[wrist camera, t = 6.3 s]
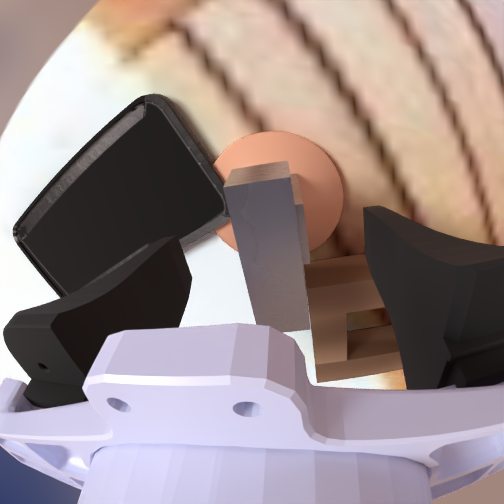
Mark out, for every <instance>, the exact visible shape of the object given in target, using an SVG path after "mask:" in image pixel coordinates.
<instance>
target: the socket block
mask: <svg viewBox="0 0 504 504" xmlns="http://www.w3.org/2000/svg"><path fill="white" fill-rule="evenodd" d="M304 271H305V280H306V289H307V297H308V305H309V313H310V322H311V330H312V339H313V348H314V358H315V368H316V378H317V383H320V382H328V381H336V380H343V379H350V378H356V377H362V376H368V375H374V374H380V373H385V372H390V371H395V370H400V369H403V366H402V361H401V357H400V352H399V348H398V344H397V340H396V336H395V333H394V329H393V326H392V325H386V326H381V327H375V328H369V329H362V330H356V331H350V332H347V313H352V312H358V311H365V310H371V309H377V308H383V307H385V305H384V303H383V301H382V299H381V296H380V294H379V292H378V290H377V287H376V285H375V283H374V281H373V278H372V276H371V273H370V270H369V266H368V263H367V260H366V256H365V254H358V255H351V256H344V257H337V258H330V259H323V260H316V261H310V264H304Z"/></svg>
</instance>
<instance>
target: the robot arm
mask: <svg viewBox="0 0 504 504" xmlns="http://www.w3.org/2000/svg"><path fill="white" fill-rule="evenodd" d="M363 211H364V232H365V256H366V260H367V263H368V266H369V270H370V273H371V276H372V278H373V281H374V283H375V285H376V287H377V290H378V292H379V294H380V296H381V299H382V301H383V303H384V305H385V308H386V310H387V312H388V315H389V317H390V320H391V323H392V326H393V329H394V333H395V336H396V340H397V344H398V348H399V352H400V357H401V361H402V366H403V371H404V376H405V382H406V387H407V390H381V389H353V388H336V387H322V386H313V385H312V384H311V383H310V382H309V379H308V377H307V372H306V364H305V357H304V355H303V353H302V352H301V350H300V348H299V346H298V345H297V343H296V341H295V340H294V339H293V338H291V337H289V336H288V335H286V334H284V333H282V332H280V331H278V330H276V329H274V328H272V327H270V326H263V325H252V324H242V323H234V324H222V325H210V326H196V327H181V328H179V325H180V322H181V319H182V316H183V314H184V311H185V308H186V305H187V302H188V299H189V294H190V289H191V282H192V276H191V273H190V270H189V267H188V265H187V262H186V259H185V256H184V253H183V250H182V247H181V244H180V241H179V238H178V235H176V236H170V237H164V238H162V239H159V240H158V241H156V242H154V243H153V244H151V245H150V246H148V247H147V248H145V249H144V250H142V251H141V252H139V253H138V254H137V255H135V256H134V257H132V258H131V259H130V260H128V261H127V262H125V263H124V264H122V265H121V266H119V267H118V268H116V269H115V270H113V271H112V272H110V273H109V274H107V275H106V276H104V277H102V278H101V279H99V280H97V281H95V282H93V283H92V284H90V285H88V286H86V287H84V288H82V289H80V290H78V291H76V292H73V293H71V294H69V295H67V296H65V297H62V298H60V299H57V300H55V301H52V302H49V303H46V304H43V305H40V306H37V307H33V308H30V309H26V310H23V311H19V312H17V313H16V314H15V315H14V316H13V317H12V319H11V320H10V321H9V323H8V324H7V325H6V326H5V328H4V331H3V336H4V340H5V343H6V345H7V348H8V349H9V351H10V352H11V354H12V355H13V357H14V358H15V359H16V361H17V362H18V363H19V364H20V366H21V367H22V368H23V369H24V371H25V372H26V373H27V374H28V376H29V377H30V378H31V381H30V383H29V384H28V385H27V384H25V383H24V382H22V381H19V380H14V379H10V378H5V379H4V381H3V382H2V384H1V385H0V446H1V447H3V448H4V449H5V450H6V451H7V452H9V453H10V454H11V455H12V456H14V457H15V458H16V459H17V460H19V461H20V462H22V463H24V464H26V465H28V466H30V467H32V468H34V469H36V470H38V471H40V472H42V473H45V474H47V475H49V476H51V477H53V478H56V479H58V480H60V481H62V482H65V483H67V484H69V485H71V486H74V487H76V488H78V489H81V490H82V492H81V495H80V498H79V501H78V504H433V501H432V500H435V499H438V498H440V497H443V496H446V495H448V494H450V493H453V492H455V491H458V490H460V489H462V488H465V487H467V486H470V485H471V484H474V483H476V482H478V481H480V480H482V479H485V478H486V477H488V476H490V475H493V474H495V473H497V472H498V471H500V470H502V469H504V246H496V245H489V244H483V243H477V242H473V241H468V240H464V239H460V238H456V237H453V236H450V235H447V234H444V233H441V232H438V231H435V230H432V229H430V228H428V227H425V226H423V225H421V224H418V223H416V222H414V221H412V220H410V219H408V218H406V217H403V216H401V215H399V214H397V213H395V212H393V211H391V210H389V209H387V208H385V207H382V206H371V207H364V208H363Z"/></svg>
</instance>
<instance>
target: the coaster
mask: <svg viewBox="0 0 504 504" xmlns="http://www.w3.org/2000/svg"><path fill="white" fill-rule="evenodd" d="M287 160H288V163H289V169H290V174H294V173H297V176H298V181H299V186H300V191H301V196H302V201H303V207H304V214H305V222H306V230H307V238H308V246H309V253H310V252H312V251H313V250H315V249H316V248H318V247H319V246H320V245H322V244H323V243H324V242H325V241H326V240H327V239H328V238H329V236H330V235H331V234H332V232H333V231H334V229H335V227H336V226H337V224H338V221H339V219H340V216H341V212H342V209H343V187H342V182H341V179H340V176H339V174H338V171H337V169H336V167H335V166H334V164H333V163H332V161H331V160H330V158H329V157H328V156H327V155H326V154H325V152H324V151H323V150H322V149H320V148H319V147H318V146H317V145H316V144H314V143H313V142H311V141H309V140H308V139H306V138H303V137H301V136H299V135H296V134H293V133H289V132H283V131H265V132H258V133H254V134H251V135H248V136H246V137H243V138H241V139H239V140H238V141H236V142H234V143H233V144H232V145H230V146H229V147H228V148H227V149H226V150H225V151H224V152H223V153H222V154H221V155H220V156H219V157H218V159H217V160H216V161H215V163H214V164H213V168H214V169H215V171H216V172H217V174H218V175H219V177H220V178H221V179H222V181H223V182H224V184H225V182H226V180H227V178H228V176H229V174H230V172H231V170H232V169H236V168H242V167H248V166H254V165H260V164H267V163H273V162H280V161H287ZM214 230H215V231H216V233H217V234H218V235H219V236H220V238H221V239H222V240H223V241H224V242H225V243H226V244H228V245H229V246H230V247H231V248H233V249H234V250H236V251H237V252H238V248H237V244H236V240H235V235H234V231H233V227H232V223H231V219H229V220H228V221H227V222H226V223H224V224H223V225H221V226H219V227H218V228H216V229H214Z"/></svg>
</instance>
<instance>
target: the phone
mask: <svg viewBox="0 0 504 504" xmlns="http://www.w3.org/2000/svg"><path fill="white" fill-rule="evenodd" d="M213 164H214V163H213V162H212V160H211V159H210V157H209V156H208V154H207V153H206V151H205V150H204V148H203V147H202V145H201V144H200V143H199V141H198V140H197V138H196V137H195V135H194V134H193V132H192V131H191V130H190V128H189V127H188V125H187V124H186V122H185V121H184V119H183V118H182V117H181V115H180V114H179V112H178V111H177V109H176V108H175V106H174V105H173V104H172V102H171V101H170V100H169V99H168V98H167V97H165V96H163V95H161V94H149V95H144V96H141V97H139V98H137V99H136V100H134V101H133V102H132V103H131V104H130V105H128V106H127V107H126V108H125V109H124V110H123V111H121V112H120V113H119V114H118V115H117V116H116V117H114V118H113V119H112V120H111V121H110V122H109V123H108V124H107V125H106V126H104V127H103V128H102V129H101V130H100V131H99V132H98V133H97V134H96V135H95V136H94V137H93V138H92V139H91V140H90V141H89V142H87V143H86V144H85V145H84V146H83V147H82V148H81V149H80V150H79V151H78V152H77V153H76V154H75V155H74V156H73V157H72V158H71V160H70V161H69V162H68V163H67V164H66V165H65V166H64V167H63V168H62V169H61V170H60V171H59V172H58V173H57V174H56V176H55V177H54V178H53V179H52V180H51V181H50V182H49V183H48V184H47V186H46V187H45V188H44V189H43V190H42V191H41V193H40V194H39V195H38V196H37V197H36V198H35V200H34V201H33V202H32V203H31V204H30V206H29V207H28V208H27V209H26V211H25V212H24V213H23V214H22V216H21V217H20V218H19V220H18V221H17V222H16V223H15V225H14V227H13V236H14V239H15V241H16V243H17V245H18V246H19V247H20V249H21V250H22V251H23V253H24V254H25V255H26V257H27V258H28V259H29V261H30V262H31V263H32V264H33V266H34V267H35V268H36V269H37V271H38V272H39V273H40V274H41V276H42V277H43V278H44V279H45V280H46V282H47V283H48V284H49V285H50V286H51V287H52V289H53V290H54V291H55V292H56V293H57V294H58V296H59V297H60V298H62V297H65V296H67V295H69V294H71V293H73V292H76V291H78V290H80V289H82V288H84V287H86V286H88V285H90V284H92V283H93V282H95V281H97V280H99V279H101V278H102V277H104V276H106V275H107V274H109V273H110V272H112V271H113V270H115V269H116V268H118V267H119V266H121V265H122V264H124V263H125V262H127V261H128V260H130V259H131V258H132V257H134V256H135V255H137V254H138V253H139V252H141V251H142V250H144V249H145V248H147V247H148V246H150V245H151V244H153V243H154V242H156V241H158V240H159V239H162V238H164V237H170V236H176V235H178V238H179V241H180V244H181V247H184V246H186V245H188V244H189V243H191V242H193V241H195V240H196V239H198V238H200V237H202V236H203V235H205V234H207V233H209V232H210V231H212V230H214V229H216V228H218V227H219V226H221V225H223V224H224V223H226V222H227V221H228V220H229V219H230V215H229V211H228V206H227V202H226V198H225V194H224V190H223V186H224V182H223V181H222V179H221V178H220V177H219V175H218V174H217V172H216V171H215V169H214V168H213Z"/></svg>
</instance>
